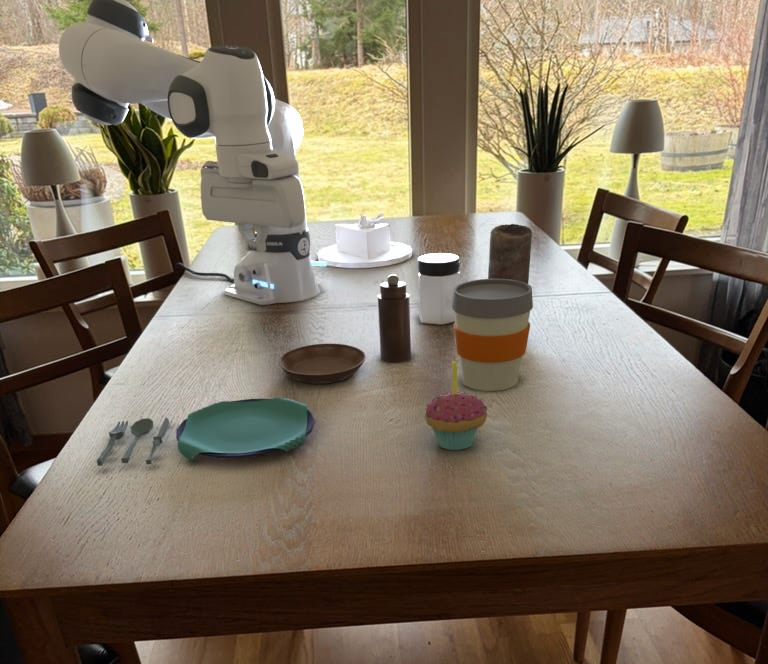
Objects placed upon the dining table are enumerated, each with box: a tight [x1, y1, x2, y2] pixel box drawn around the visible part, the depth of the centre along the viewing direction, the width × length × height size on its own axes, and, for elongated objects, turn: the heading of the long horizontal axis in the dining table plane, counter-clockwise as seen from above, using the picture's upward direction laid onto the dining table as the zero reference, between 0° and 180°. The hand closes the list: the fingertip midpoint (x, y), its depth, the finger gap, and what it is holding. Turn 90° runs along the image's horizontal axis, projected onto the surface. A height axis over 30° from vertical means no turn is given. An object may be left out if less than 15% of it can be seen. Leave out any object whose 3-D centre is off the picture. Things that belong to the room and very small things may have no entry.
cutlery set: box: [96, 396, 316, 467], centre depth 114 cm, size 20×30×2 cm, turn 94°
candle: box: [487, 223, 533, 284], centre depth 141 cm, size 8×7×20 cm
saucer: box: [278, 343, 367, 385], centre depth 135 cm, size 15×15×3 cm
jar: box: [417, 252, 461, 326], centre depth 156 cm, size 9×8×12 cm
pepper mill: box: [377, 273, 412, 364], centre depth 137 cm, size 5×5×15 cm
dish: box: [317, 212, 413, 269], centre depth 206 cm, size 25×25×11 cm
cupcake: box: [424, 355, 488, 451], centre depth 106 cm, size 9×8×12 cm
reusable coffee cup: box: [452, 278, 534, 392], centre depth 125 cm, size 13×13×15 cm
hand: (256, 251), depth 133 cm, fingers closed
